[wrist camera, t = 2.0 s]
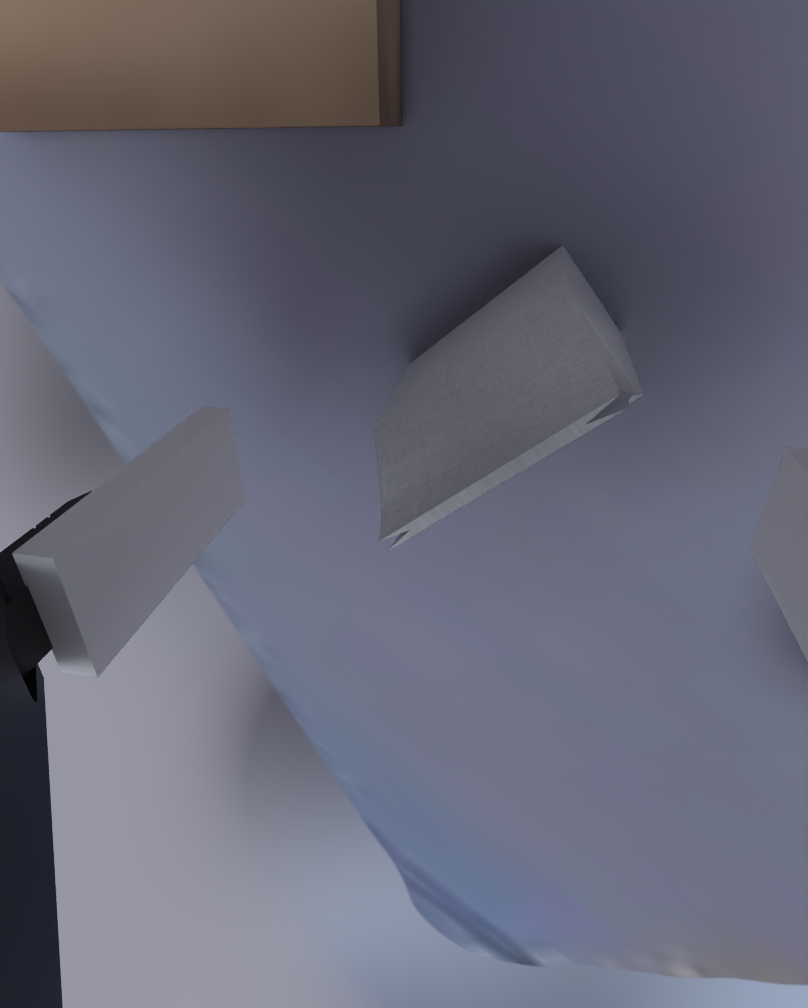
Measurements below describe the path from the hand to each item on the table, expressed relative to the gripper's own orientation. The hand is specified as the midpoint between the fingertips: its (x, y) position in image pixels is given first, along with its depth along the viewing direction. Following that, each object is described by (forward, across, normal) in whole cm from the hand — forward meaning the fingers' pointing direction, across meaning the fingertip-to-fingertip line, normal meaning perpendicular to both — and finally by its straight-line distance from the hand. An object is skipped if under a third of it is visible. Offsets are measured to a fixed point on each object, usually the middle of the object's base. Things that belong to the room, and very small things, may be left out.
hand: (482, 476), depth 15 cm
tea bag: (+9, 0, 0) cm, 9 cm away
